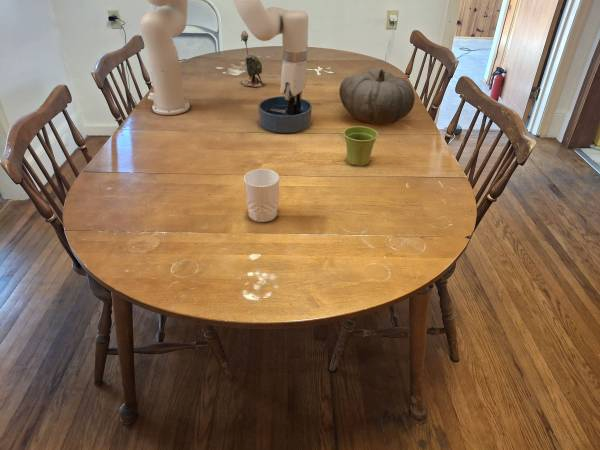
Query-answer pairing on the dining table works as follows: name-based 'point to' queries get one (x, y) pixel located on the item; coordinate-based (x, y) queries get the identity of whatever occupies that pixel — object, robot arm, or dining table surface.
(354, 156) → the plant pot
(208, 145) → the dining table surface
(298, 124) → the bowl
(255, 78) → the grey tall irregular piece
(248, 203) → the white cup
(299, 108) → the black knife
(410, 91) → the gourd
